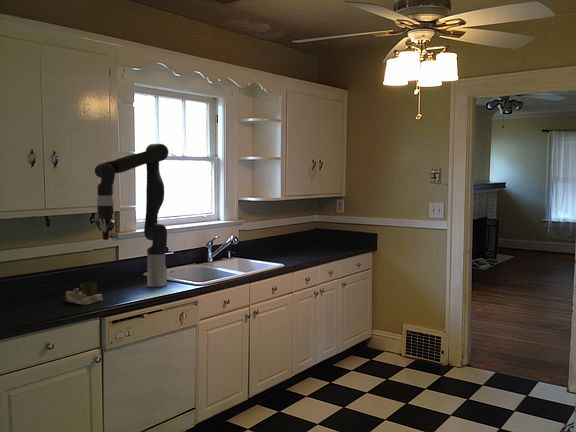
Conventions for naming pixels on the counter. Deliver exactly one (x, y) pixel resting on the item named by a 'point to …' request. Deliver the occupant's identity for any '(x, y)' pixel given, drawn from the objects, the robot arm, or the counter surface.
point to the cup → (89, 288)
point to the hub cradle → (82, 297)
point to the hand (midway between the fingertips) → (105, 239)
